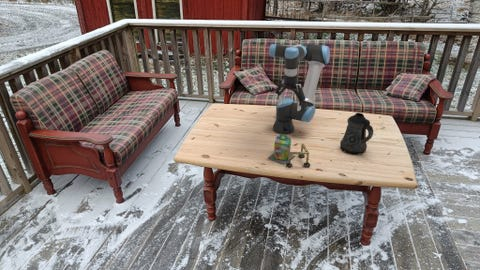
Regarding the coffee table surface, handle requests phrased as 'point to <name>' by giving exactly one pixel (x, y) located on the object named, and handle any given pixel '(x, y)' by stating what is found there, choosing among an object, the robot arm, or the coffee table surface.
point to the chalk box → (282, 147)
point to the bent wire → (300, 155)
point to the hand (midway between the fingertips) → (289, 107)
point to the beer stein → (356, 135)
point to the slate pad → (280, 160)
